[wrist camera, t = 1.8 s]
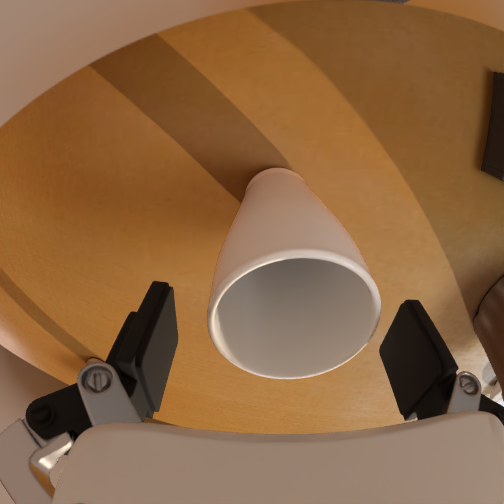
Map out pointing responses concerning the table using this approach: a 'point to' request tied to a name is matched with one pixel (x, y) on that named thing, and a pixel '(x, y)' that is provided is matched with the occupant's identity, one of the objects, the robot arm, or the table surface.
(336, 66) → the table surface
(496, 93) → the cup holder
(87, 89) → the table surface
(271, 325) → the white tapered cylinder
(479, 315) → the plant pot
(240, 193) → the table surface
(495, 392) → the spoon rest
